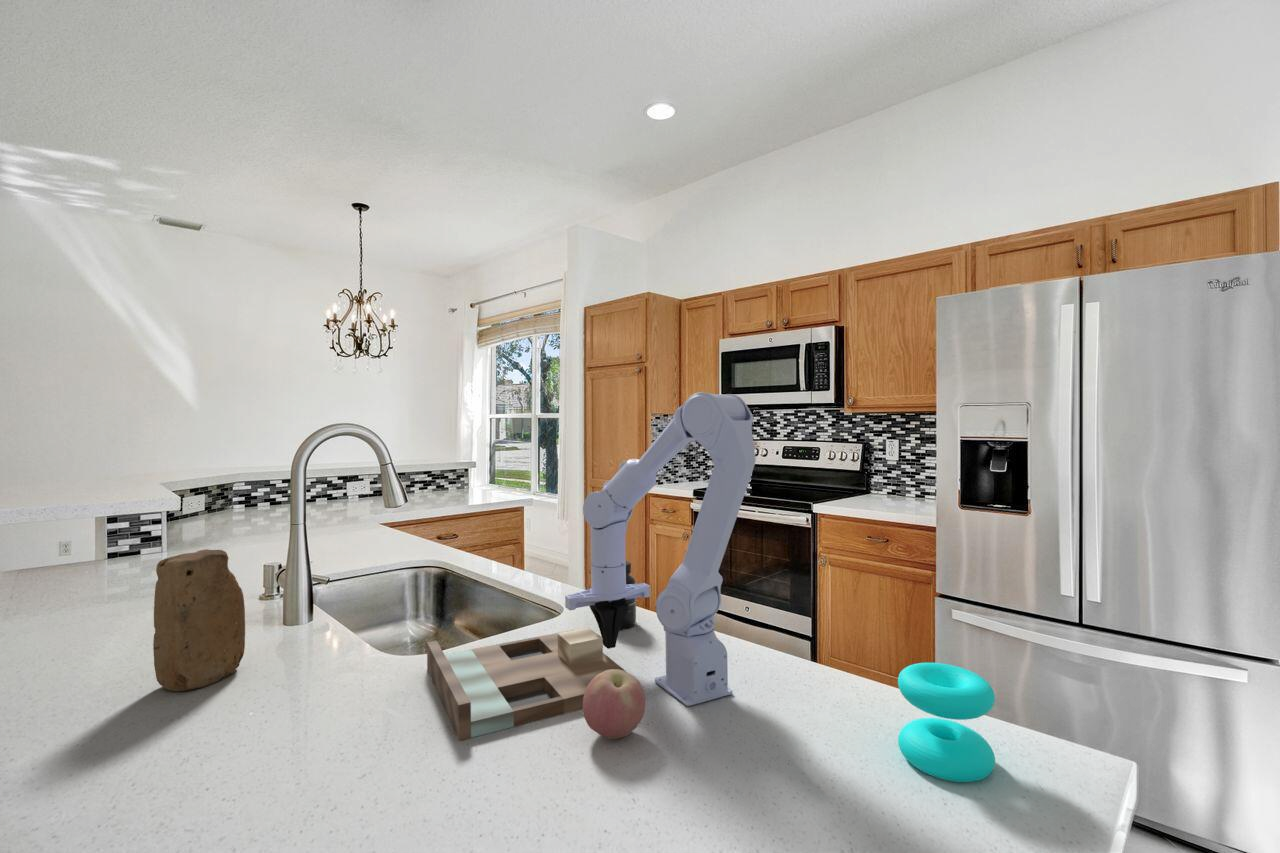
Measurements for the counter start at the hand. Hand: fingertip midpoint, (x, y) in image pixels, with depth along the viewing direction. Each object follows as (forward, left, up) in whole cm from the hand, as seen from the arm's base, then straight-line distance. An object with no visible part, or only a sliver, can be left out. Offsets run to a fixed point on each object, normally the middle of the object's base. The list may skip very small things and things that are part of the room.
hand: (609, 646), depth 98 cm
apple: (-21, +9, -3) cm, 23 cm away
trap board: (0, +13, -3) cm, 13 cm away
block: (+26, +58, -3) cm, 64 cm away
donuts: (-45, -22, -3) cm, 50 cm away
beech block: (0, +5, -1) cm, 5 cm away
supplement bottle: (+16, -10, -3) cm, 19 cm away
